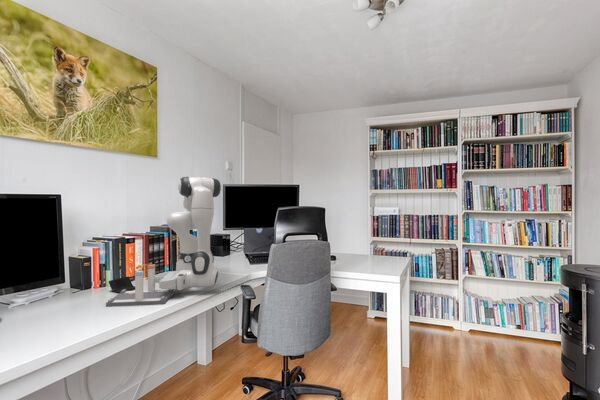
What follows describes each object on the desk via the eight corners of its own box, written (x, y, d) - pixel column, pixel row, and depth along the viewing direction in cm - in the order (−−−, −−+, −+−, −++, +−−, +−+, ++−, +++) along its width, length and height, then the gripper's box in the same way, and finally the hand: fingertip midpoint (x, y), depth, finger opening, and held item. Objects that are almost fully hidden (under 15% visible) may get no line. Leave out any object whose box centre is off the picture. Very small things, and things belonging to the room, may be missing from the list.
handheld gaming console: (123, 291, 156) (115, 273, 159) (113, 299, 157) (106, 281, 160) (141, 288, 167) (134, 272, 170) (132, 296, 168) (124, 279, 171)
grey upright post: (149, 290, 157) (149, 264, 157) (155, 290, 157) (155, 264, 157) (147, 291, 154) (147, 265, 154) (153, 291, 155) (153, 265, 155)
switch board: (122, 294, 155) (122, 289, 155) (174, 292, 159) (174, 287, 159) (105, 306, 138) (105, 300, 138) (164, 304, 141) (164, 298, 141)
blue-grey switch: (136, 299, 143) (137, 271, 143) (143, 298, 143) (143, 270, 143) (134, 301, 140) (135, 272, 140) (141, 300, 141) (141, 272, 141)
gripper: (188, 268, 168) (160, 268, 166) (179, 277, 148) (148, 278, 146) (187, 280, 168) (160, 281, 166) (179, 291, 148) (147, 292, 146)
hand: (154, 280), depth 156 cm, fingers closed, pressing on grey upright post
